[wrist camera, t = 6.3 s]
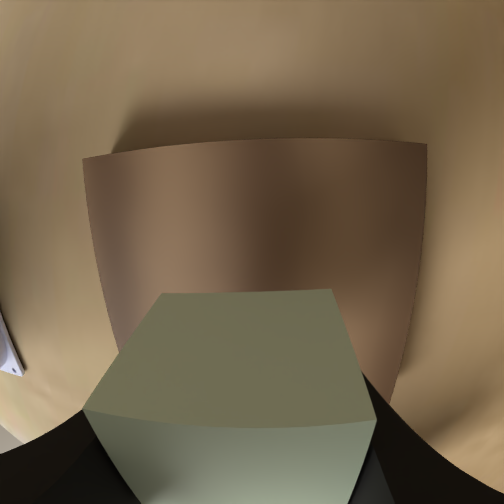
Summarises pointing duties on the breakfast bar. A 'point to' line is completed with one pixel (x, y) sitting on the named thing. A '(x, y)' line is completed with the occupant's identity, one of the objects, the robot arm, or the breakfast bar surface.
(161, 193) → the walnut block
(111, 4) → the breakfast bar surface
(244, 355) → the sage cube
